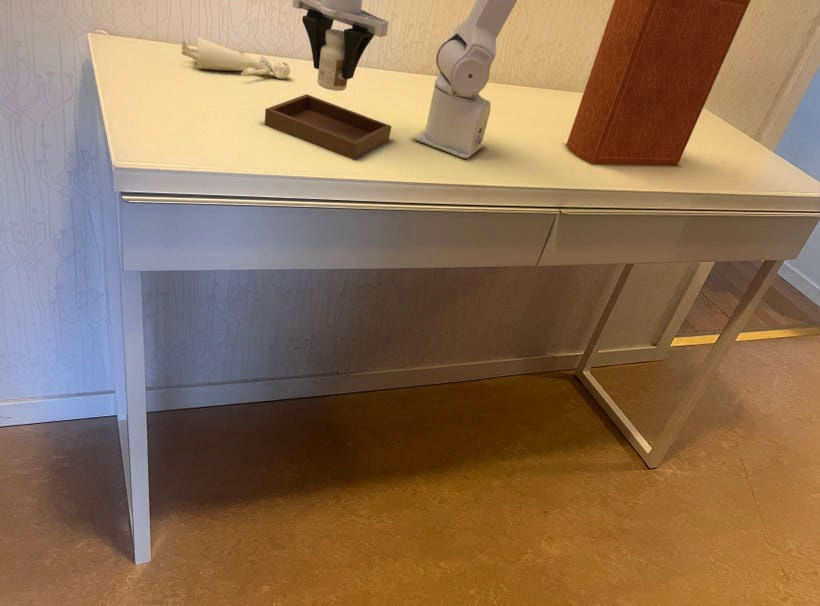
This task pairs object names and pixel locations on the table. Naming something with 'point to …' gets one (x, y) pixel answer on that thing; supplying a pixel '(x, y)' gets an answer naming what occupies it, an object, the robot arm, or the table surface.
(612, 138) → the book
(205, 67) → the woman figurine
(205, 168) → the table surface
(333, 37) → the pill bottle
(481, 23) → the robot arm
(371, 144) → the tray
